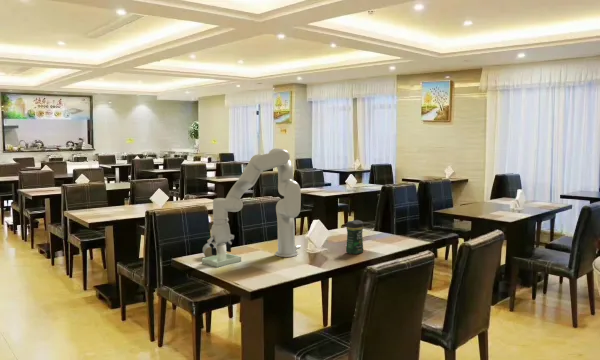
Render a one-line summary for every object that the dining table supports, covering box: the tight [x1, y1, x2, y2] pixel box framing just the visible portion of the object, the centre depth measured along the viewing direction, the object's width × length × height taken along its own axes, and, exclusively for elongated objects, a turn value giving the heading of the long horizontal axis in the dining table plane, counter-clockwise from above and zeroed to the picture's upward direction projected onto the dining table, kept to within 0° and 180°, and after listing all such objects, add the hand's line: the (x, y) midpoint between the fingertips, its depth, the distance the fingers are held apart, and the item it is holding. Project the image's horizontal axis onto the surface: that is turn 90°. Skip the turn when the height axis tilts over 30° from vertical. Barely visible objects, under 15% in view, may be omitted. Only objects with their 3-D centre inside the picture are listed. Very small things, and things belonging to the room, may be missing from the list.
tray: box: [201, 252, 242, 268], centre depth 258 cm, size 16×13×3 cm
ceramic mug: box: [202, 242, 217, 258], centre depth 268 cm, size 11×8×8 cm
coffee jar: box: [345, 219, 364, 255], centre depth 274 cm, size 10×8×19 cm
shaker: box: [216, 242, 227, 262], centre depth 257 cm, size 5×5×10 cm
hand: (221, 253), depth 257 cm, fingers open, 9 cm apart
